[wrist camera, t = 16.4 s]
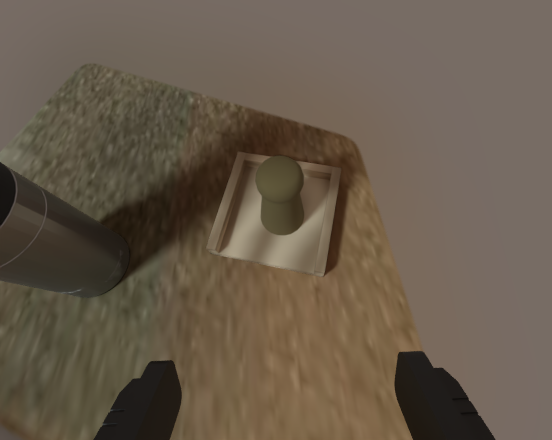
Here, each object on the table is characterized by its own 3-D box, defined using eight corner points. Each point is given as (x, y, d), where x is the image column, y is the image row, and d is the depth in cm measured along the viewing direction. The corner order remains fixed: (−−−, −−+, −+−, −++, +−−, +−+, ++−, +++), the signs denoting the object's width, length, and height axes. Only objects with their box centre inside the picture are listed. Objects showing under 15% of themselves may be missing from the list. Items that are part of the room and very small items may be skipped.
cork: (252, 223, 38) (237, 181, 28) (274, 188, 40) (268, 138, 30) (291, 243, 37) (290, 207, 27) (312, 206, 39) (319, 160, 29)
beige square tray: (211, 253, 38) (206, 248, 36) (241, 161, 43) (238, 151, 41) (322, 277, 36) (324, 272, 34) (338, 177, 41) (341, 167, 39)
